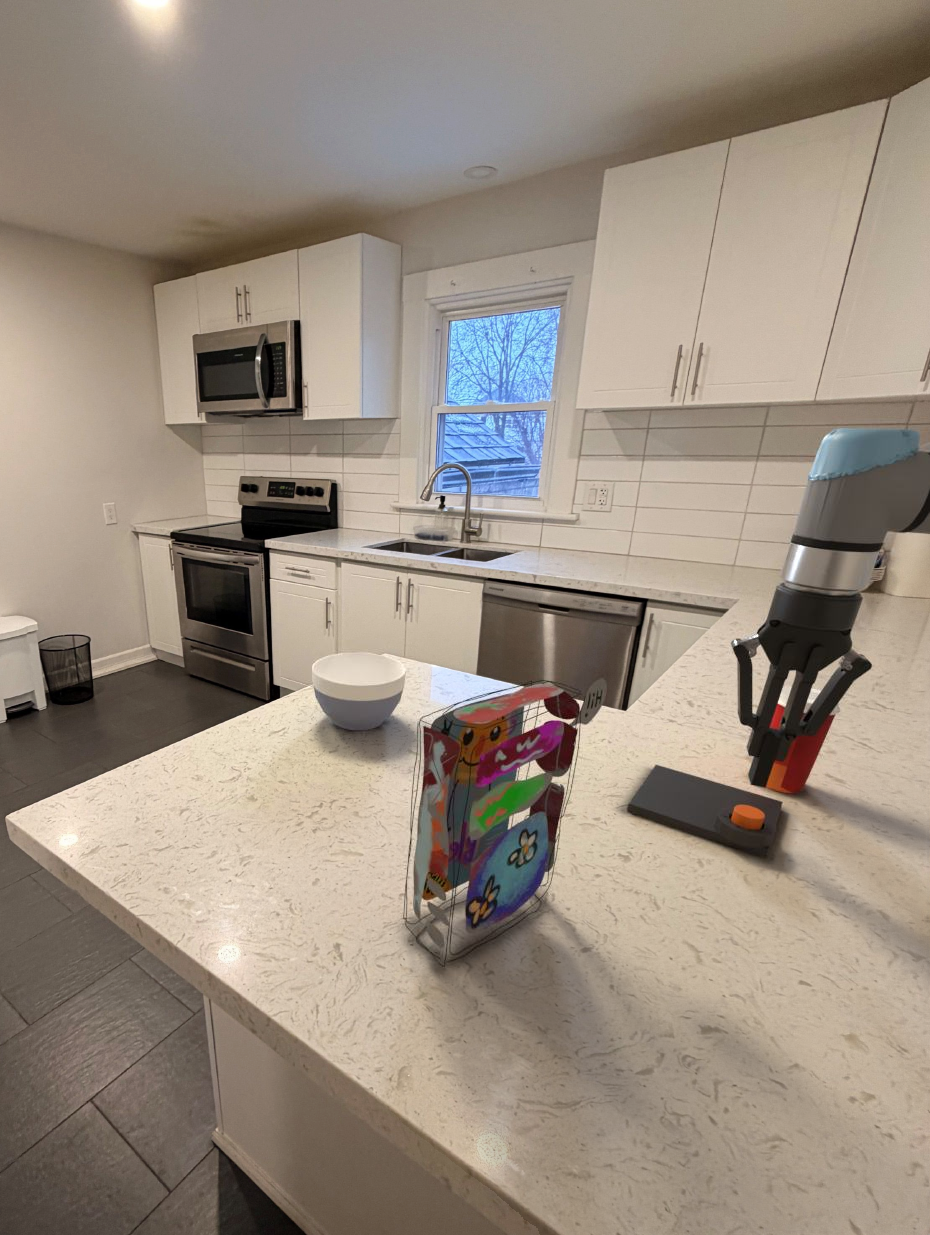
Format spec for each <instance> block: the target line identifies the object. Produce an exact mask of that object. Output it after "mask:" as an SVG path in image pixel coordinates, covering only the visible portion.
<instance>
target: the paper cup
mask: <svg viewBox="0 0 930 1235" xmlns="http://www.w3.org/2000/svg"><path fill="white" fill-rule="evenodd" d="M791 688H792V685H786V686H785V685H784V686H783V688H782V691H781V694H780V698H779V701H778V704H777V707H776V710H775V713H774V716H773V719H772V722H771V725H770V728H774V729H778V730H779V729H780V722H781V719H782V716H783V713H784V709H785V706H786V703H787V700H788V697H789V694H790V691H791ZM821 691H822V689H818V688H814V687H812V688H811V691H810V694H809V697H808V700H807V703H806V706H805V709H804V712H803V715H802V718H803V716H804V715H805V714H806V712H807V711H808V709H809V708H810V706H811V705H812V704H813V702H814V701H815V699H816V698H817V696H818V695H819V694H820V692H821ZM840 712H841V707H840V706H839V703H838V704H837V705H836V707H835V708H834V710H833V711H832V712H831V714H830V715H829V717H828V718H827V719H826V721H825V722H824V723H823V725H822V726H821V728H820V729H819V730H818V732H817V733H816V734H815V735H814V736H810V737H809V736H806V735H802V736H797V738H796V739H795V740H794V741H792V743H791V746H790V749H789V752H788V755H787V757H786V759H785V760H784V761H783V762H780V761H774V764H773V767H772V770H771V773H770V776H769V779H768V782H767V785H766V788H768V789H771V790H773V791H776V792H780V793H784V794H798V793H801V792H802V791H803V789H804V788H805V786H806V783H807V782H808V779H809V776H810V774H811V772H812V770H813V768H814V765H815V763H816V761H817V759H818V756H819V754H820V752H821V749H822V747H823V744H824V743H825V740H826V738H827V736H828V733H829V732H830V729H831V727H832V724H833V721H834V719H835V717H836V715H838V714H839V713H840ZM802 718H801V719H802Z"/></svg>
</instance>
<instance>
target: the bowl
mask: <svg viewBox="0 0 930 1235" xmlns="http://www.w3.org/2000/svg"><path fill="white" fill-rule="evenodd" d="M406 674H407V668H406V666H405V665H404V664H403V663H402V662H401V661H399V660H397V659H395V658H393V657H390V656H386V655H382V654H377V653H370V652H341V653H334V654H329V655H326V656H324V657H321V658H319V659H317V660H316V661H314V662H313V664H312V666H311V676H312V686H313V692H314V696H315V699H316V701H317V703H318V705H319V706H320V709H321V710H322V712H323V713H324V714H325V715H326V716H328V717H329V718H330V720H331V722H332V724H334V725H335V726H337V727H339V728H342V729H345V730H350V731H368V730H373V729H376V728H378V727H380V726H381V725H382V724H383V723H384V721H385V720H386V719H387V718H389V717H390V716H392V714H393V712H394V711H395V710H396V708H397V707H398V705H399V704H400V702H401V699H402V695H403V692H404V688H405V684H406V683H405V682H406Z"/></svg>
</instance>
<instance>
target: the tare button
mask: <svg viewBox="0 0 930 1235" xmlns="http://www.w3.org/2000/svg"><path fill="white" fill-rule="evenodd" d="M764 818H765V815H764V813H763V812H762V811H761V810H759V809H757V808H755V807H752V806H748V805H737V806H735V808H734V811H733V814H732V817H731V821H732V822H733V823H734V824H736V825H738V826H739V827H742V828H746V829H749V830H760V829H761V827H762V824H763V821H764Z"/></svg>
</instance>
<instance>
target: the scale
mask: <svg viewBox="0 0 930 1235" xmlns="http://www.w3.org/2000/svg"><path fill="white" fill-rule="evenodd" d="M737 805H748V806H752V807H755V808H757V809H759V810H761V811H762V812H763V813H764V815H765V818H764V821H763V824H762V827H761V829H760V830H749V829H746V828H742V827H739V826H738V825H736V824H734V823H733V822H732V821H731V817H732V814H733V811H734V808H735V806H737ZM782 806H783V801H781V800H778V799H775V798H771V797H768V796H764V795H761V794H758V793H754V792H752V791H747V790H744V789H741V788H738V787H734V786H730V785H728V784H723V783H720V782H717V781H714V780H710V779H706V778H704V777H699V776H697V775H693V774H689V773H686V772H682V771H679V770H676V769H672V768H670V767H666V766H662V765H659V764H654V766H653V767H652V769H651V771H650V772H649V773H648V775H647V776H646V777H645V779H644V781H643V782H642V783H641V785H640V786H639V788H638V789H637V790H636V792H635V794H634V795H633V796H632V798H631V799H630V801H629V802H628V804H627V808H626V811H627V812H629V813H632V814H635V815H638V816H641V817H644V818H647V819H649V820H651V821H652V820H653V821H655V822H658V823H662V824H664V825H666V826H670V827H673V828H677V829H679V830H682V831H685V832H687V833H690V834H692V835H693V834H694V835H697V836H699V837H702V838H705V839H709V840H712V841H714V842H716V843H720V844H723V845H726V846H729V847H732V848H735V849H736V850H737V849H738V850H740V851H743V852H747V853H748V854H749V853H750V854H752V855H754V856H757V857H761V858H764V859H767V858H768V855H769V852H770V849H771V846H772V844H773V841H774V839H775V838H774V837H775V835H776V831H777V824H778V820H779V817H780V813H781V809H782Z"/></svg>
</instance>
